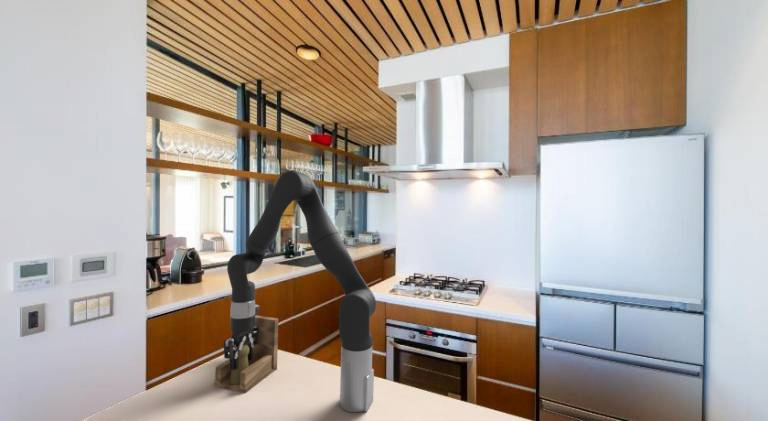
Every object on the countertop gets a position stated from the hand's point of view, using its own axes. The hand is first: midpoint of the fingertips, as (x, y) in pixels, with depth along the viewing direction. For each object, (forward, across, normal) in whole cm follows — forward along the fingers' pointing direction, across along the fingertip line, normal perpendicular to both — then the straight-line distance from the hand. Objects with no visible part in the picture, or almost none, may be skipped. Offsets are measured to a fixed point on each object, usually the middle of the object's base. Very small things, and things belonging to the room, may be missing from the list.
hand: (241, 364), depth 105 cm
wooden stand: (+6, +3, 0) cm, 6 cm away
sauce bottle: (+6, +15, +8) cm, 18 cm away
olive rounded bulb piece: (+5, -1, 0) cm, 5 cm away
